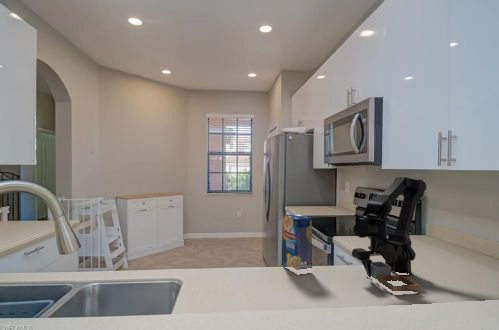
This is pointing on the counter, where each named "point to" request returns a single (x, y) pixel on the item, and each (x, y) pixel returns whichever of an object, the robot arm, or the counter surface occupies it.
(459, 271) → the counter surface
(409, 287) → the walnut crate
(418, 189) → the robot arm
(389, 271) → the grey plastic crate
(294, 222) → the blue cardboard box
